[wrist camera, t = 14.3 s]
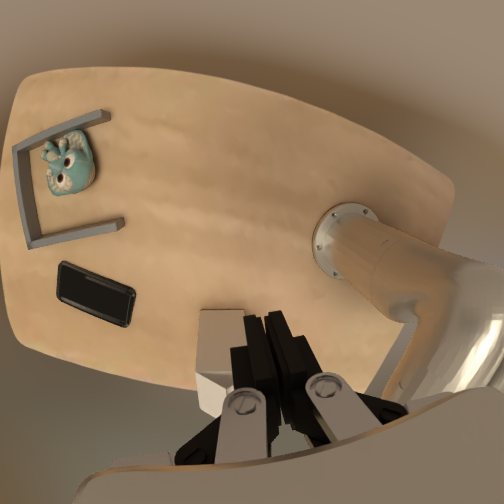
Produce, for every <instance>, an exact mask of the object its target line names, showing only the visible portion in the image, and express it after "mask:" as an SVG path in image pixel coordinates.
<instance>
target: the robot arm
mask: <svg viewBox="0 0 504 504" xmlns="http://www.w3.org/2000/svg"><path fill="white" fill-rule="evenodd" d="M363 211H364V212H363ZM333 213H334V214H333ZM332 214H333V216H332ZM317 246H318V247H317ZM312 249H313V255H314V258H315V260H316V262H317V264H318V265H319V267H320V268H321V269H322V270H323V271H324V272H325V273H326V274H328V275H329V276H331V277H333V278H336V279H347V280H348V281H349V282H350V283H351V284H352V285H353V286H354V287H355V288H356V289H357V290H358V291H359V292H360V293H361V294H362V295H363V296H364V297H365V298H366V299H368V300H369V301H370V302H371V303H372V304H373V305H374V306H375V307H376V308H377V309H378V310H379V311H380V312H381V313H382V314H383V315H384V316H386V317H387V318H389V319H390V320H392V321H395V322H399V323H413V322H418V324H417V327H416V329H415V331H414V334H413V336H412V338H411V341H410V343H409V345H408V347H407V349H406V351H405V353H404V354H403V356H402V358H401V360H400V362H399V364H398V365H397V367H396V369H395V371H394V372H393V374H392V376H391V378H390V380H389V381H388V383H387V385H386V387H385V389H384V392H383V395H382V398H381V399H380V398H376V397H372V396H369V395H365V394H361V393H358V392H354V391H353V390H352V388H351V387H350V386H349V385H348V384H347V382H346V381H345V380H344V379H343V378H342V377H341V376H339V375H337V374H335V373H330V372H322V370H321V368H320V366H319V364H318V362H317V360H316V358H315V356H314V354H313V352H312V350H311V348H310V346H309V344H308V342H307V340H306V338H305V336H304V335H302V336H297V337H293V336H292V334H291V332H290V329H289V327H288V325H287V322H286V320H285V318H284V315H283V313H282V311H281V310H279V311H273V312H269V313H268V315H269V316H264V320H265V330H266V334H265V330H264V327H263V323H262V320H261V317H257V318H256V315H248V316H243V321H244V328H245V334H246V341H247V345H246V346H239V347H232V348H230V356H231V366H232V377H233V387H234V391H232V392H231V393H229V394H228V395H227V396H226V397H225V399H224V402H223V407H222V414H221V415H220V416H218V417H217V418H216V419H215V420H214V421H213V422H212V423H210V424H209V425H208V426H207V427H206V428H204V429H203V430H202V431H201V432H200V433H198V434H197V435H196V436H195V437H193V438H192V439H191V440H190V441H188V442H187V443H186V444H185V445H183V446H182V447H181V448H180V449H179V450H178V451H177V452H175V453H170V454H169V452H163V453H156V454H150V455H143V456H135V457H127V458H120V459H117V460H115V461H114V462H112V464H111V465H110V466H109V469H107V470H103V471H99V472H96V473H94V474H91V475H90V476H88V477H86V478H85V479H84V480H83V481H82V482H81V484H80V485H79V487H78V489H77V491H76V494H75V496H74V499H73V502H72V504H504V270H502V269H501V268H498V267H496V266H494V265H491V264H488V263H485V262H481V261H477V260H474V259H470V258H466V257H462V256H459V255H456V254H453V253H450V252H447V251H445V250H442V249H440V248H437V247H435V246H433V245H430V244H428V243H426V242H424V241H421V240H419V239H417V238H415V237H412V236H410V235H408V234H406V233H403V232H401V231H399V230H398V229H397V228H392V227H389V226H387V225H385V224H382V223H380V222H379V219H378V217H377V216H376V215H375V214H374V212H373V211H371V210H370V209H369V208H367V207H365V206H363V205H361V204H358V203H343V204H340V205H337V206H335V207H334V208H332V209H330V210H329V211H328V212H327V213H326V214H325V215H324V216H323V217H322V218H321V219H320V221H319V223H318V225H317V226H316V229H315V232H314V235H313V240H312ZM333 272H334V273H333ZM280 407H281V410H280ZM281 411H282V414H283V418H284V421H285V424H290V425H291V428H292V430H296V431H298V432H300V433H303V434H304V438H305V440H306V442H307V444H308V446H309V447H310V449H308V450H304V451H299V452H295V453H291V454H285V455H281V456H275V457H272V445H271V443H272V441H273V440H274V439H275V438H276V437H277V436H278V435H279V427H278V426H281Z"/></svg>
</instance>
